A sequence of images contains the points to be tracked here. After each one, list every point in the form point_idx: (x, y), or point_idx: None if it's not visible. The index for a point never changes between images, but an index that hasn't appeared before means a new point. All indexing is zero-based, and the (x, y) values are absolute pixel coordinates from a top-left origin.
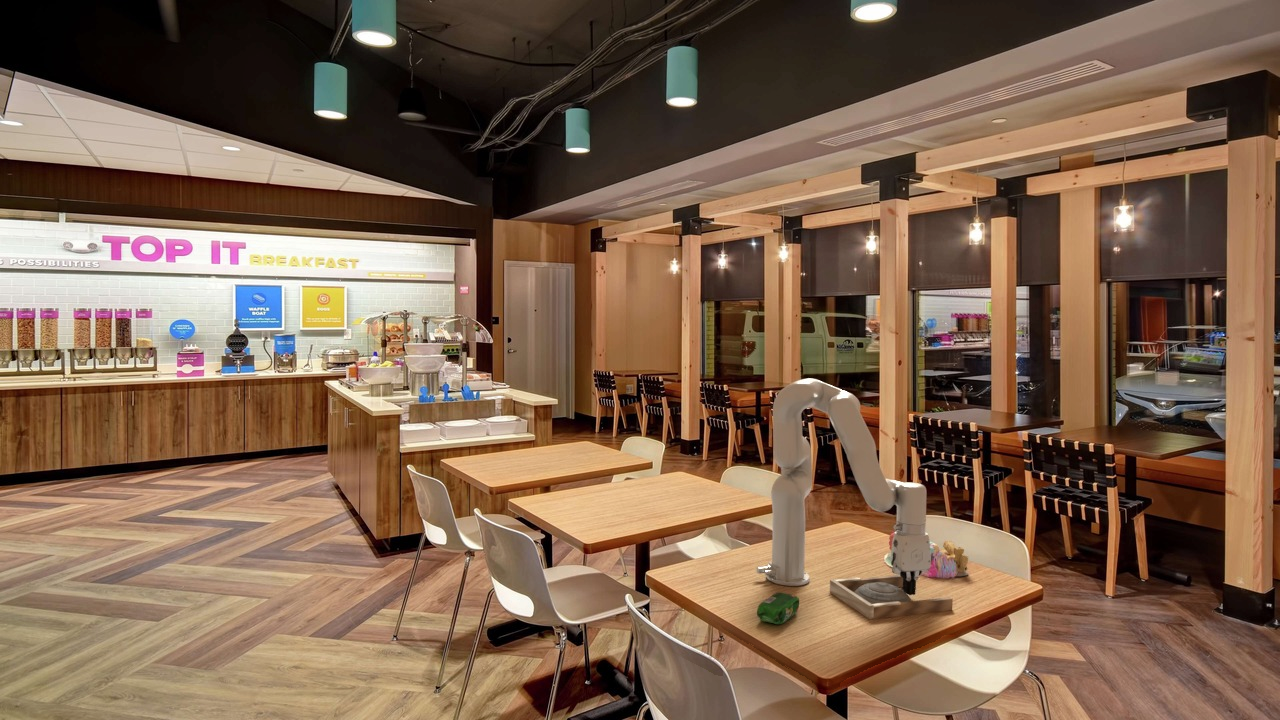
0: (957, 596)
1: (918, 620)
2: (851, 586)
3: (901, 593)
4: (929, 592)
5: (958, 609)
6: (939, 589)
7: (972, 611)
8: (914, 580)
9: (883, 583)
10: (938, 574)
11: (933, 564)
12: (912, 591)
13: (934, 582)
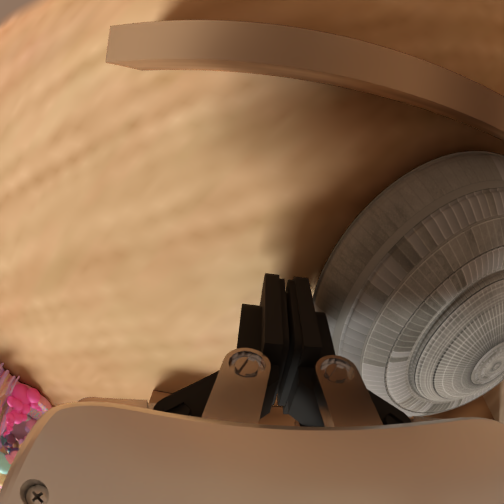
0: (5, 216)
1: (475, 26)
2: (443, 418)
3: (463, 249)
4: (100, 307)
5: (102, 44)
6: (42, 311)
7: (57, 12)
8: (267, 352)
9: (494, 363)
10: (10, 384)
11: (9, 420)
12: (284, 292)
13: (37, 362)
